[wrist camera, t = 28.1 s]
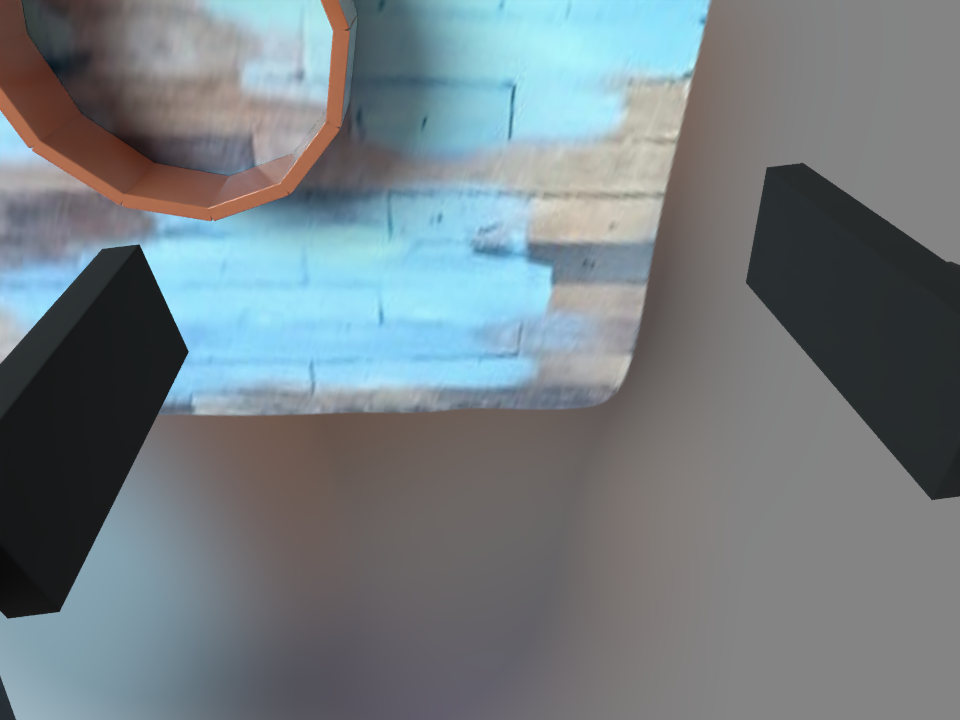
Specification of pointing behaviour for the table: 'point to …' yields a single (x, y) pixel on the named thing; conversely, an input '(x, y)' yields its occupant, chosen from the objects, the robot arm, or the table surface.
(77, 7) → the table surface
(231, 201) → the faceted terracotta ring
